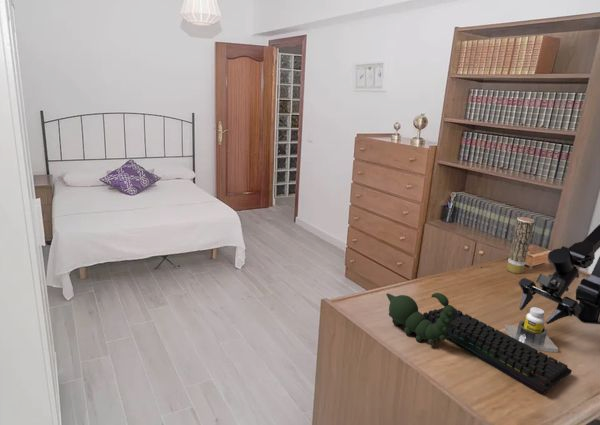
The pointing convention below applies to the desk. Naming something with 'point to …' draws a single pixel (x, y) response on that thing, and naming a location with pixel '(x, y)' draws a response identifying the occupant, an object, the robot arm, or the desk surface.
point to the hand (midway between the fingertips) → (533, 316)
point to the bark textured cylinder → (520, 244)
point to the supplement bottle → (534, 320)
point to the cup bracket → (531, 337)
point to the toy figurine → (421, 318)
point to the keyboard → (504, 352)
